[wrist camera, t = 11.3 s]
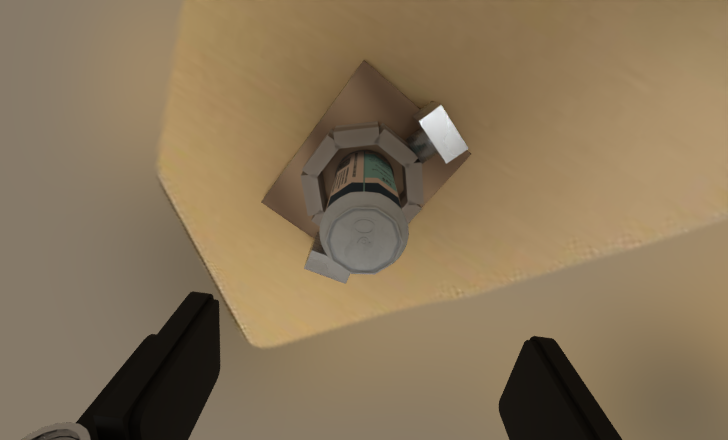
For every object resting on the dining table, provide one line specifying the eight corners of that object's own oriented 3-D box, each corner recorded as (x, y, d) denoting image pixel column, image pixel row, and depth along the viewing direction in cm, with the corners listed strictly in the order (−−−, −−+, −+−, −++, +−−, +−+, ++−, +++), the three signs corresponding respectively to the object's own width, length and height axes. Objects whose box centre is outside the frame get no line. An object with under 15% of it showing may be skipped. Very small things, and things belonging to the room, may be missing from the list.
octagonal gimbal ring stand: (363, 60, 27) (363, 58, 23) (467, 150, 29) (482, 162, 26) (264, 197, 31) (250, 215, 27) (362, 265, 34) (362, 290, 30)
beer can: (335, 204, 30) (318, 281, 19) (335, 148, 28) (315, 196, 17) (392, 205, 30) (407, 283, 19) (395, 149, 28) (414, 198, 17)
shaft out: (322, 218, 31) (317, 235, 27) (361, 233, 31) (360, 252, 28) (310, 248, 32) (304, 268, 28) (347, 262, 32) (345, 283, 29)
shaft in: (422, 163, 29) (429, 175, 25) (397, 126, 28) (401, 134, 24) (456, 139, 28) (468, 148, 25) (432, 101, 27) (441, 105, 24)
